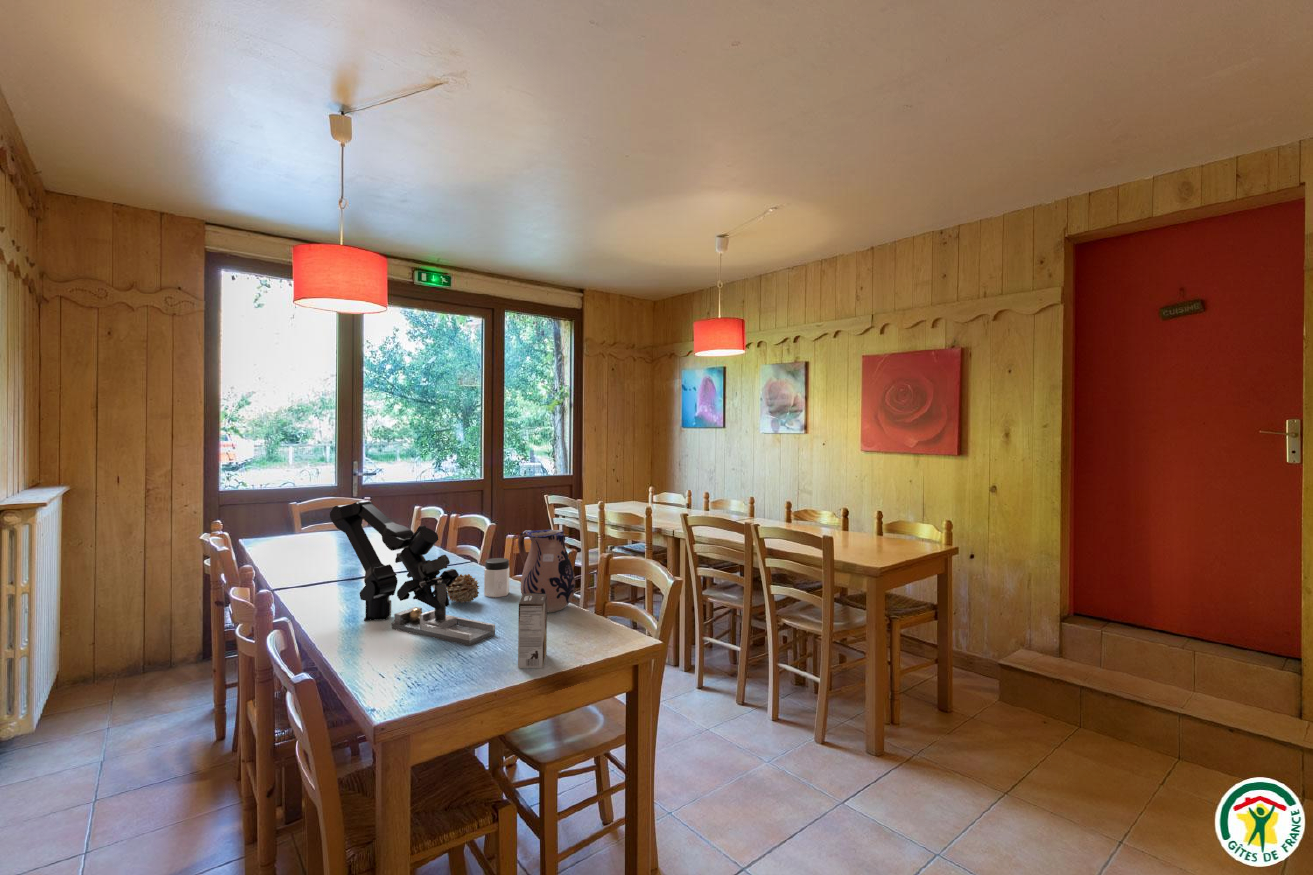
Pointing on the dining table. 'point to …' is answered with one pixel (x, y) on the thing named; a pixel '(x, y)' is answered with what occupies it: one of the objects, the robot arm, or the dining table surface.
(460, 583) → the pine cone
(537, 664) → the coffee box
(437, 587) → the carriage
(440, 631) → the base
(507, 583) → the jar
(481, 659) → the dining table surface
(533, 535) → the ceramic pitcher
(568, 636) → the dining table surface
